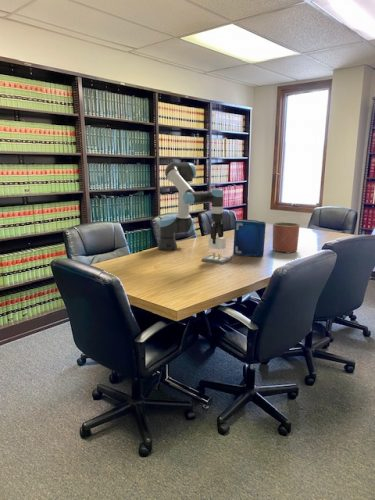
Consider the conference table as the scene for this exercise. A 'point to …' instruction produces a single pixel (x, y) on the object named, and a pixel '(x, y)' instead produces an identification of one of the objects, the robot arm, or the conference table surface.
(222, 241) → the block
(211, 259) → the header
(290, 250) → the planter
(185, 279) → the conference table surface
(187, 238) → the conference table surface
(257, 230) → the book
